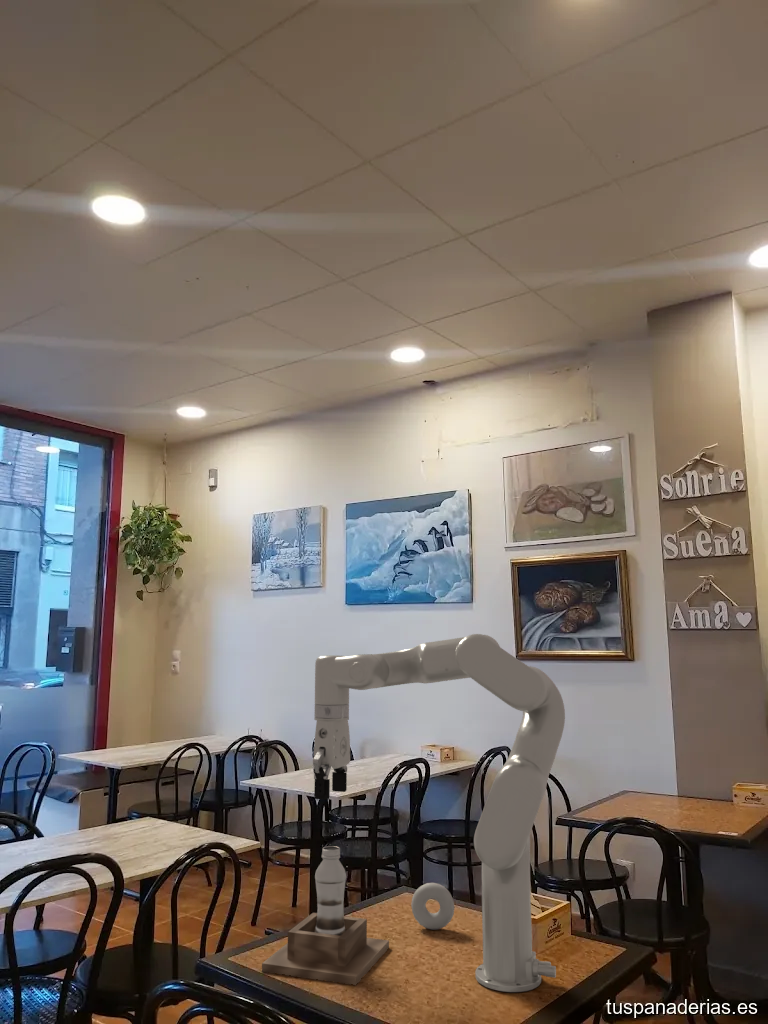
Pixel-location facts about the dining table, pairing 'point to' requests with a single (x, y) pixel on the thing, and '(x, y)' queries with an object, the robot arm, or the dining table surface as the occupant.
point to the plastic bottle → (330, 893)
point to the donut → (423, 915)
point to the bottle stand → (327, 952)
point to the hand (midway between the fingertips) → (330, 795)
